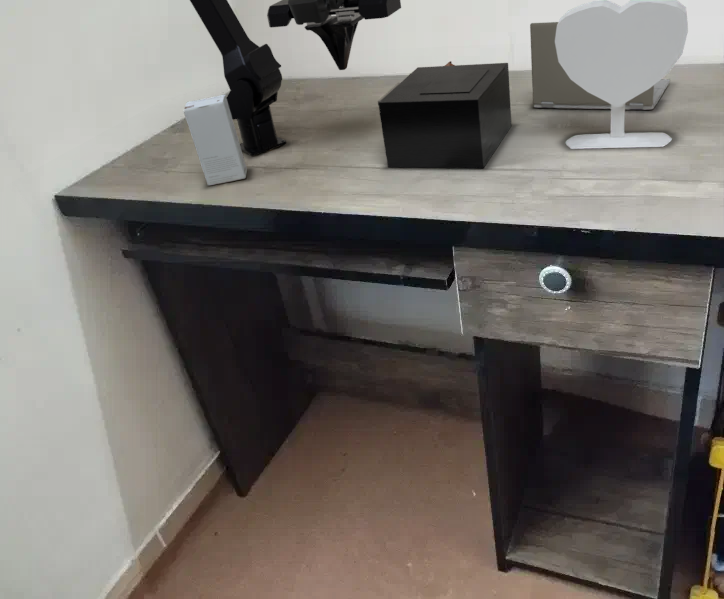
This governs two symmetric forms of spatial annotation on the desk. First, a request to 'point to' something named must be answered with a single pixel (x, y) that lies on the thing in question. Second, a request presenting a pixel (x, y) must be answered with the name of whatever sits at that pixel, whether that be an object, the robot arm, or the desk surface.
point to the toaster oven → (446, 116)
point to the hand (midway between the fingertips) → (343, 69)
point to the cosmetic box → (215, 139)
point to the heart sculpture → (620, 58)
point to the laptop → (560, 89)
